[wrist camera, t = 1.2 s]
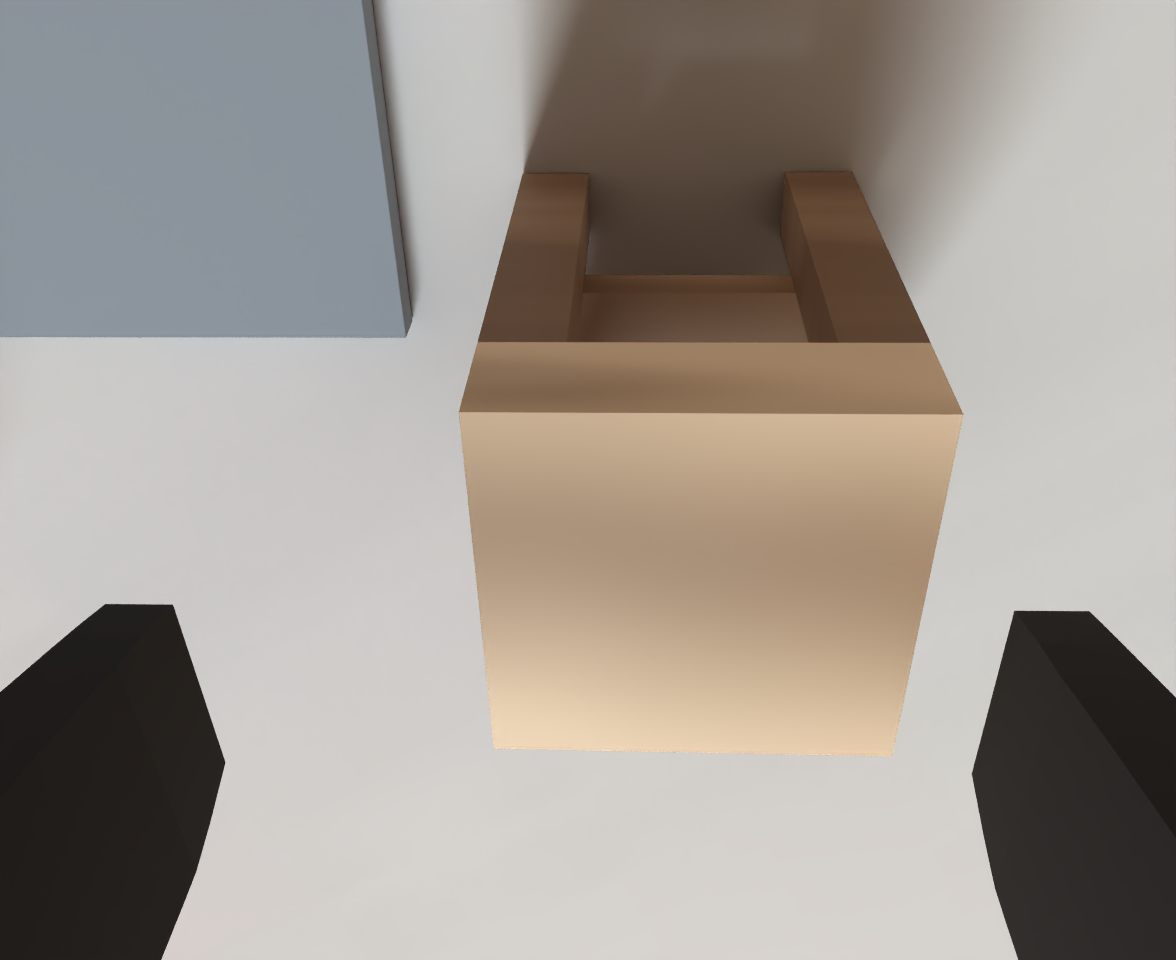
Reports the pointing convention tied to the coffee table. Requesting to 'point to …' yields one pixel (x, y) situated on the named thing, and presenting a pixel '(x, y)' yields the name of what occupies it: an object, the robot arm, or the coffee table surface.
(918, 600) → the stool
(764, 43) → the coffee table surface
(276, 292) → the slate mat
